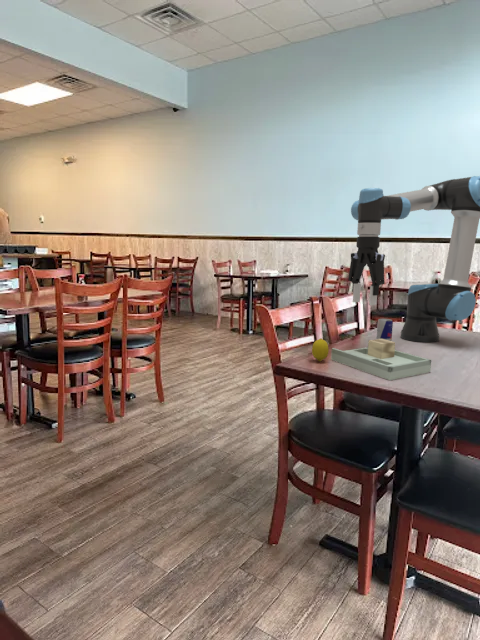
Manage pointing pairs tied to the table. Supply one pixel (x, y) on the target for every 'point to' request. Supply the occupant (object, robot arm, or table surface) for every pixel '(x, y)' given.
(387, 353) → the maple block
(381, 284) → the robot arm
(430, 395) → the table surface
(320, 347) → the lemon
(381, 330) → the energy drink
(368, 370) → the sage tray
